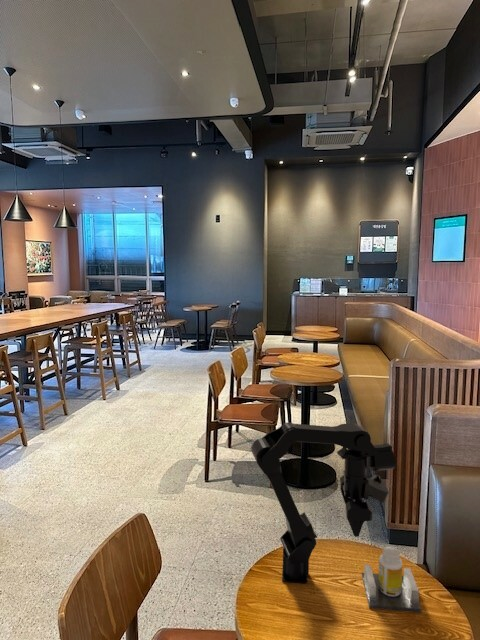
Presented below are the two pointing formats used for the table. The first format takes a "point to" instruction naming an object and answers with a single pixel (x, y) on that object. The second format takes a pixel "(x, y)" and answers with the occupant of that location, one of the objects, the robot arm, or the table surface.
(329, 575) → the table surface
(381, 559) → the supplement bottle
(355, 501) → the robot arm
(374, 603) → the grey u-shaped holder
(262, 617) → the table surface
